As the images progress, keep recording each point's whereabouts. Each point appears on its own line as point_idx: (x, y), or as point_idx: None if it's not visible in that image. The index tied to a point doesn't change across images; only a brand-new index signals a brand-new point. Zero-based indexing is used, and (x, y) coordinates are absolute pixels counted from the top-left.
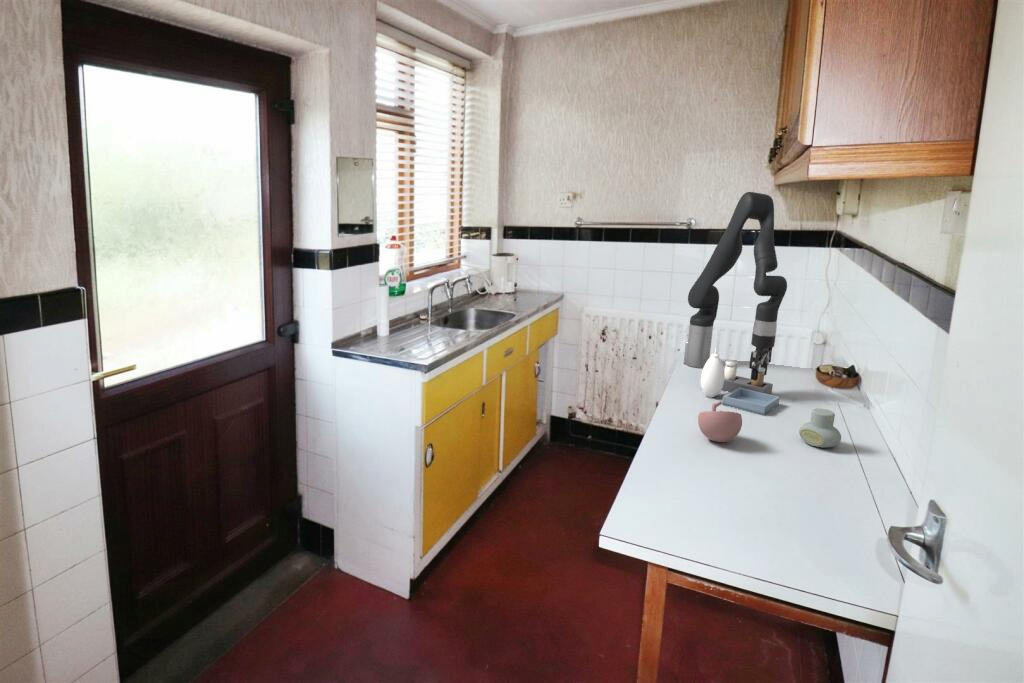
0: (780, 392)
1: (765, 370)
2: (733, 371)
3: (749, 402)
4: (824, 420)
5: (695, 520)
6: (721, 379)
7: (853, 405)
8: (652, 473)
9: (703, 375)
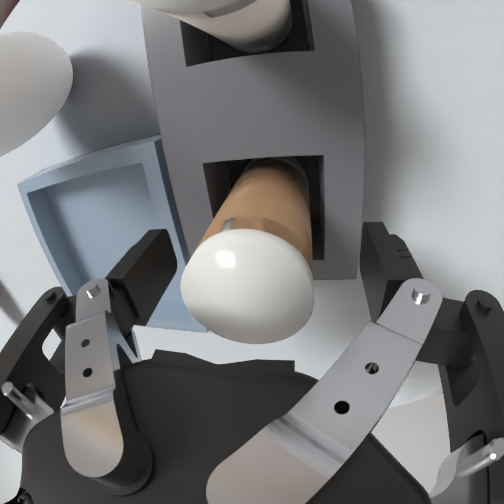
0: (413, 257)
1: (368, 290)
2: (190, 24)
3: (57, 273)
4: None
5: None
6: None
7: (394, 401)
8: None
9: None
